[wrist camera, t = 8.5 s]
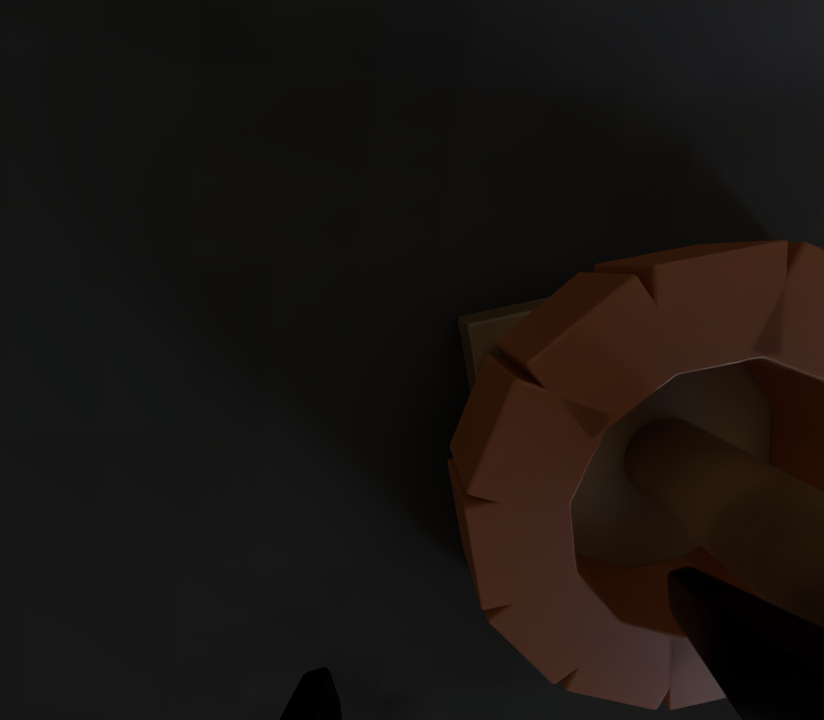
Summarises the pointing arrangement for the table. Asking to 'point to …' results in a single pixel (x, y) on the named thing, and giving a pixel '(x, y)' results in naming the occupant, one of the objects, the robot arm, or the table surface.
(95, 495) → the table surface
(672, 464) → the peg stand
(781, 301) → the ring
